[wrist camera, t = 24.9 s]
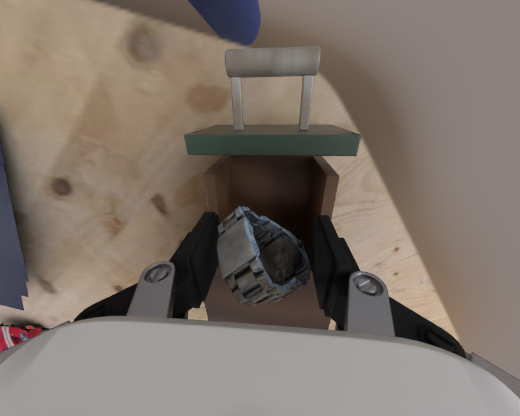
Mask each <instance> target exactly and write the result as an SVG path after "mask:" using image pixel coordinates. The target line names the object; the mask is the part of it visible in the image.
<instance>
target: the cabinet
mask: <svg viewBox="0 0 520 416" xmlns="http://www.w3.org/2000/svg"><path fill="white" fill-rule="evenodd" d="M310 275H311V276H310V278H309V280H308V281H307V284H306V285H304V286H303V287H302V288H300V289H298V290H297V291H295V292H294V293H292V294H290V295H289V296H288V297H285V298H284V299H282V300H280V301H278V302H274V301H273V302H272V301H268V302H266V303H263V304H260V305H255V306H251V305H245V304H243V305H242V304H240V303H239V302H238V301H237V299H236V298H235V297H234V295H233V293H232V290H231V289H230V288H229V286H228V285H227V283H226V281H225V280H224V279H223V277H222V274H221V271H220V268H219V265H218V267H217V270H216V273H215V276H214V278H213V281H212V284H211V286H210V289H209V292H208V295H207V297H206V300H205V301H204V303H205V307H206V312H207V316H208V320H209V321H220V322H233V323H247V324H260V325H274V326H287V327H299V328H312V329H324V330H328V328H329V324H330V320H331V317H325V314H324V310H322V309H320V308H319V303H318V298H317V294H316V289H315V284H314V279H313V274H312V269H310Z"/></svg>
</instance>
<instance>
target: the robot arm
mask: <svg viewBox="0 0 520 416" xmlns="http://www.w3.org/2000/svg"><path fill="white" fill-rule="evenodd" d="M219 225H220V223H219V216H218V214H215V212H204V214H203V215H202V217H201V218H200V220H199V221H198V223H197V224H196V226H195V227H194V228H193V230H192V231H191V232H189V233H188V234H187V236H186V237H185V239H184V240H183V242H182V243H181V245H180V246H179V247H178V249H177V250H176V252H175V253H174V255H173V256H172V258H171V259H170V260H169V262H168V261H161V262H157V263H155V264H153V265H151V266H149V267H148V268H146V269H145V270H144V271H143V273H142V274H141V276H140V279H139V282H138V283H137V284H135V285H133V286H131V287H128V288H126V289H124V290H122V291H120V292H118V293H116V294H114V295H112V296H110V297H108V298H105V299H103V300H101V301H99V302H97V303H95V304H93V305H91V306H90V307H88V308H86V309H85V310H84V311H82V312H81V313H80V314H79V315H78V316H77V317H76V318H75V320H74V321H73V322H72V323H71V322H70V321H67V322H65V323H62V324H60V325H58V326H56V327H54V328H51V329H49V330H47V331H45V332H43V333H41V334H38V335H36V336H34V337H32V338H30V339H28V340H25V341H23V342H21V343H19V344H17V345H15V346H12V347H10V348H8V349H6V350H4V351H2V352H0V416H520V380H519V379H517V378H515V377H514V376H512V375H510V374H509V373H507V372H505V371H503V370H502V369H500V368H498V367H497V366H495V365H493V364H492V363H490V362H488V361H487V360H485V359H483V358H481V357H480V356H478V355H476V354H475V353H473V352H472V353H471V354H468V353H466V352H465V351H464V349H463V348H462V346H461V345H460V344H459V342H458V341H457V340H456V339H455V338H454V337H453V336H452V335H450V334H449V333H448V332H446V331H445V330H443V329H442V328H440V327H438V326H437V325H435V324H434V323H432V322H430V321H429V320H427V319H425V318H424V317H422V316H420V315H419V314H417V313H415V312H414V311H412V310H410V309H409V308H407V307H405V306H404V305H402V304H400V303H399V302H397V301H396V300H394V299H392V298H391V297H389V296H388V290H387V287H386V285H385V284H384V282H383V281H382V280H381V279H379V278H378V277H377V276H375V275H373V274H371V273H368V272H363V271H360V269H359V267H358V265H357V263H356V261H355V259H354V257H353V255H352V253H351V251H350V249H349V247H348V245H347V243H346V241H345V239H344V238H339V237H338V235H337V233H336V231H335V228H334V226H333V224H332V222H331V220H330V218H329V216H328V215H318V216H317V217H315V218H314V222H313V229H312V236H311V243H310V249H309V260H310V265H311V269H312V274H313V279H314V284H315V289H316V294H317V298H318V303H319V308H320V309H322V310H324V314H325V317H331V319H333V320H334V321H335V322H336V327H335V330H324V329H312V328H299V327H287V326H274V325H260V324H247V323H233V322H220V321H205V320H191V319H188V310H190V309H192V308H200V305H201V303H202V302H204V301H205V300H206V297H207V295H208V292H209V289H210V286H211V284H212V281H213V278H214V276H215V273H216V270H217V267H218V265H219V264H218V255H217V241H218V238H219V237H220V235H218V234H219V231H218V228H217V227H218V226H219Z"/></svg>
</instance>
